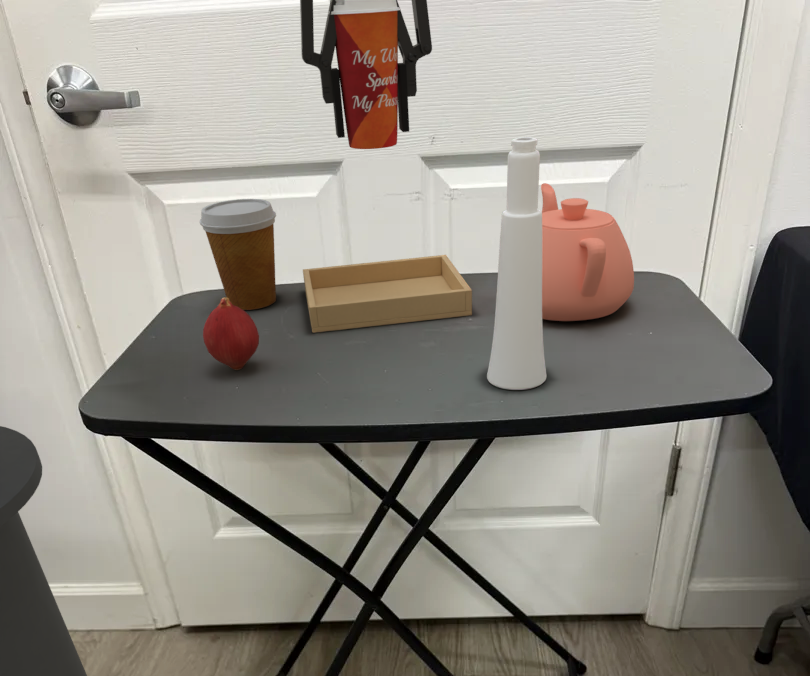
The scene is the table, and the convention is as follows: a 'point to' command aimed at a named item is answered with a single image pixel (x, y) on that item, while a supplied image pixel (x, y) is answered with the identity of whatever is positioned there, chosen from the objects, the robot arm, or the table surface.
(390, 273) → the tray
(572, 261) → the teapot
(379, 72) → the paper cup
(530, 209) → the cosmetic bottle
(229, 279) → the disposable coffee cup
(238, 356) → the onion
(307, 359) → the table surface
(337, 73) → the robot arm
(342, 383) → the table surface
